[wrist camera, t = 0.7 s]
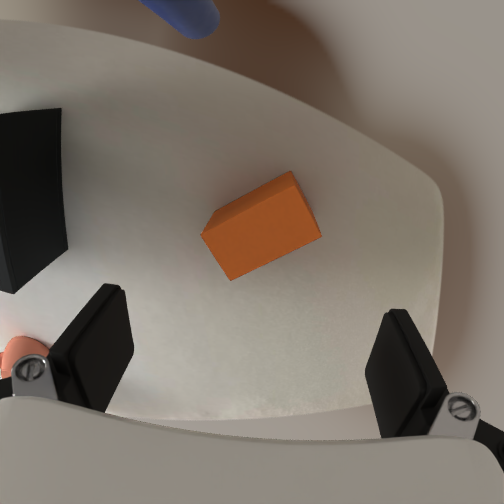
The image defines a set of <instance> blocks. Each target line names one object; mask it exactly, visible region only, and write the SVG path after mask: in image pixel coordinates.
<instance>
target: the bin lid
mask: <svg viewBox="0 0 504 504" xmlns="http://www.w3.org/2000/svg"><path fill="white" fill-rule="evenodd" d="M0 291H4V292H7V293H11V294H15V293H16V292H17V291H18V290H17V286H16V282H15V278H14V273H13V269H12V264H11V260H10V255H9V250H8V245H7V239H6V233H5V227H4V221H3V214H2V206H1V198H0Z"/></svg>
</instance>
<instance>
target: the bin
mask: <svg viewBox="0 0 504 504" xmlns="http://www.w3.org/2000/svg"><path fill="white" fill-rule="evenodd" d="M0 198H1V206H2V214H3V221H4V227H5V233H6V239H7V245H8V250H9V255H10V260H11V264H12V269H13V273H14V278H15V282H16V286H17V290H19V289H20V288H22V287H23V286H24V285H25V284H26V283H27V282H29V281H30V280H31V279H32V278H33V277H34V276H36V275H37V274H38V273H39V272H40V271H42V270H43V269H44V268H45V267H47V266H48V265H49V264H50V263H52V262H53V261H54V260H55V259H57V258H58V257H59V256H60V255H62V254H63V253H64V252H65V251H67V250H68V244H67V235H66V227H65V217H64V205H63V192H62V173H61V108H54V109H40V110H29V111H20V112H11V113H3V114H0Z"/></svg>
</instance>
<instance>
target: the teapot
mask: <svg viewBox="0 0 504 504" xmlns="http://www.w3.org/2000/svg"><path fill="white" fill-rule="evenodd" d="M28 354H40V355H42V356H44V357H45V358H46V356H47V355H48V354H49V349H48V348H47V347H46V346H44V345H43V344H42V343H40V342H38V341H37V340H35V339H32V338H30V337H25V336H16V337H14V338H12V339H11V340H10V341H9V343H8V344H7V346H6V348H5V350H4V352H1V353H0V368H1V376H2V379H4V378H7V377H10V376H11V370H12V367H13V365H14V363H15V362H16V361H17V360H18V359H20V358H21V357H23V356H25V355H28Z"/></svg>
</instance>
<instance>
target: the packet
mask: <svg viewBox="0 0 504 504" xmlns="http://www.w3.org/2000/svg"><path fill="white" fill-rule="evenodd" d="M201 237H202V239H203V240H204V242H205V243H206V245H207V246H208V248H209V249H210V251H211V253H212V254H213V256H214V257H215V259H216V260H217V262H218V263H219V265H220V266H221V268H222V269H223V271H224V272H225V274H226V275H227V277H228V278H229V280H230V281H231V280H234V279H236V278H238V277H240V276H242V275H244V274H246V273H248V272H250V271H252V270H254V269H257V268H259V267H261V266H263V265H265V264H267V263H269V262H271V261H273V260H275V259H277V258H279V257H281V256H283V255H285V254H288V253H290V252H292V251H294V250H296V249H298V248H300V247H302V246H304V245H306V244H308V243H310V242H312V241H314V240H316V239H318V238H320V237H322V235H321V232H320V230H319V227H318V224H317V222H316V219H315V216H314V214H313V212H312V210H311V208H310V206H309V204H308V202H307V200H306V198H305V196H304V194H303V192H302V191H301V189H300V187H299V185H298V183H297V181H296V179H295V178H294V176H293V174H292V172H291V171H289V172H287V173H285V174H283V175H281V176H279V177H278V178H276V179H274V180H272V181H270V182H268V183H266V184H264V185H262V186H261V187H259V188H257V189H255V190H253V191H251V192H249V193H247V194H246V195H244V196H242V197H240V198H238V199H236V200H235V201H233V202H231V203H229V204H227V205H226V206H224V207H222V208H220V209H218V210H217V211H215V212H214V213H213V215H212V217H211V218H210V220H209V222H208V223H207V225H206V227H205V228H204V230H203V232H202V233H201Z"/></svg>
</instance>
